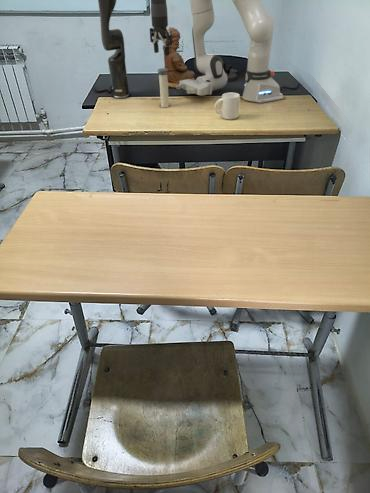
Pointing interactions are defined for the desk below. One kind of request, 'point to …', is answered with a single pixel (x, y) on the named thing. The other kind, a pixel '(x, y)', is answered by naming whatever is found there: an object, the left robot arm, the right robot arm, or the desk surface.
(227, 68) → the abstract sculpture
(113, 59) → the left robot arm
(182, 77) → the sculpture
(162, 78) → the beige tapered cylinder
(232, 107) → the mug
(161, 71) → the lid
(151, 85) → the desk surface
